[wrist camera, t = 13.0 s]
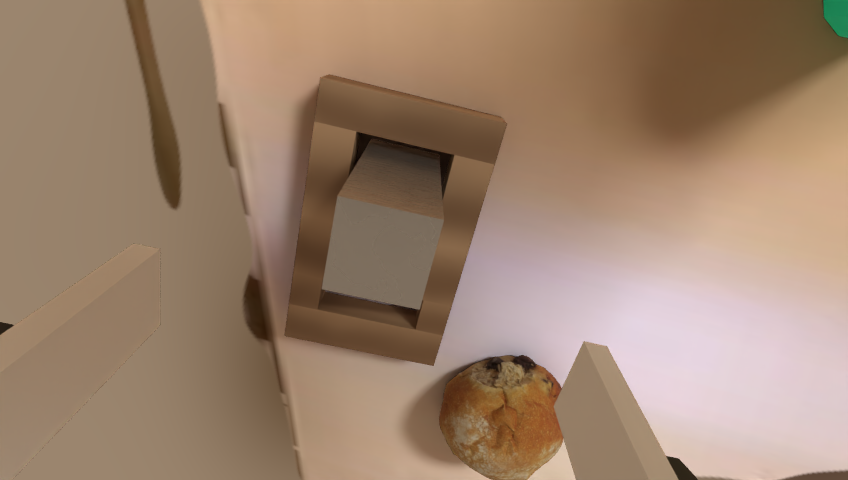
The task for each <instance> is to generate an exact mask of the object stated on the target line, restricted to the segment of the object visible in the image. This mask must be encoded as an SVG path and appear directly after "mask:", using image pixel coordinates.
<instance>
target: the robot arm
mask: <svg viewBox="0 0 848 480" xmlns="http://www.w3.org/2000/svg"><path fill="white" fill-rule="evenodd" d="M159 326H160V249H158V248H154V247H149V246H145V245H140V244H135V243H134V244H132V245H131V246H129V247H128V248H126V249H125V250H123V251H122V252H121V253H119V254H118V255H116V256H115V257H113V258H112V259H110V260H109V261H107V262H106V263H104V264H103V265H101V266H100V267H99V268H97V269H96V270H94V271H93V272H92V273H90V274H88V275H87V276H85V277H84V278H83V279H81V280H80V281H78V282H77V283H75V284H74V285H72V286H71V287H69V288H68V289H67V290H65V291H64V292H62V293H61V294H60V295H58V296H56V297H55V298H54V299H52V300H51V301H49V302H48V303H46V304H45V305H43V306H42V307H40V308H39V309H37V310H36V311H34V312H33V313H32V314H30V315H29V316H27V317H26V318H24V319H23V320H21V321H20V322H18V323H17V324H16V325H12V324H7V323H2V322H0V480H12V479H14V477H15V476H16V475H17V474H18V473H19V472H20V471H21V470H22V469H23V468H24V467H25V466H26V465H27V464H28V463H29V462H30V461H31V460H32V459H33V458H34V457H35V456H36V455H37V453H38V452H39V451H40V450H41V449H42V448H43V447H44V446H45V445H46V444H47V443H48V442H49V441H50V440H51V439H52V438H53V436H55V435H56V434H57V433H58V432H59V430H60V429H61V428H62V427H63V426H64V425H65V424H66V423H67V422H68V421H69V420H70V419H71V418H72V417H73V416H74V415H75V414H76V413H77V412H78V411H79V410H80V408H81V407H82V406H83V405H84V404H85V403H86V402H87V401H88V400H89V399H90V398H91V397H92V396H93V395H94V394H95V393H96V392H97V391H98V390H99V389H100V388H101V387H102V386H103V384H104V383H105V382H106V381H107V380H108V379H109V378H110V377H111V376H112V375H113V374H114V373H115V372H116V371H117V370H118V369H119V368H120V367H121V365H122V364H123V363H124V362H125V361H126V360H127V359H128V358H129V357H130V356H131V355H132V354H133V353H134V352H135V351H136V350H137V349H138V348H139V347H140V346H141V345H142V344H143V343H144V342H145V340H146V339H147V338H148V337H149V336H150V335H151V334H152V333H153V332H154V331H155V330H156V329H157V328H158V327H159ZM554 409H555V412H556V416H557V419H558V422H559V426H560V429H561V432H562V435H563V439H564V442H565V445H566V448H567V452H568V455H569V458H570V461H571V465H572V468H573V471H574V474H575V478H576V480H697V478H696V477H695V476H694V475H693V474H692V472H691V471H690V470H689V469H688V468H687V467H686V466H685V465H684V464H683V463H682V462H681V461H680V459H678V458H673V457H668V456H666V455H665V454H664V452H663V450H662V448H661V446H660V444H659V442H658V441H657V439H656V437H655V435H654V433H653V431H652V429H651V428H650V426H649V424H648V422H647V420H646V418H645V416H644V414H643V413H642V411H641V409H640V407H639V405H638V403H637V401H636V400H635V398H634V396H633V394H632V392H631V390H630V388H629V387H628V385H627V383H626V381H625V379H624V377H623V375H622V373H621V372H620V370H619V368H618V366H617V364H616V362H615V360H614V359H613V357H612V355H611V353H610V351H609V349H608V347H607V346H603V345H598V344H594V343H589V342H583V344H582V346H581V349H580V351H579V353H578V355H577V357H576V359H575V362H574V364H573V366H572V368H571V370H570V372H569V374H568V377H567V379H566V381H565V383H564V385H563V387H562V390H561V392H560V394H559V396H558V398H557V400H556V402H555V405H554Z"/></svg>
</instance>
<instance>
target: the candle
mask: <svg viewBox="0 0 848 480" xmlns="http://www.w3.org/2000/svg"><path fill="white" fill-rule="evenodd" d="M823 4H824V18H825V19H826V21H827V22H828V23H829V25H830V26H831V27H832V28H833V30H834V31H835V32H836V33H837V35H838V36H841V37H846V38H848V0H823Z"/></svg>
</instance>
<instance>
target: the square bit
mask: <svg viewBox="0 0 848 480" xmlns="http://www.w3.org/2000/svg"><path fill="white" fill-rule="evenodd" d="M443 222H444V213H443V200H442V186H441V173H440V160H439V154H435V153H431V152H427V151H422V150H418V149H414V148H410V147H406V146H401V145H397V144H393V143H389V142H385V141H380V140H376V139H371V140H370V142H369V144H368V145H367V147H366V149H365V151H364V152H363V154H362V156H361V157H360V159H359V161H358V162H357V164H356V166H355V167H354V169H353V171H352V172H351V174H350V176H349V177H348V179H347V181H346V182H345V184H344V186H343V187H342V189H341V191H340V192H339V194H338V196H337V202H336V208H335V213H334V219H333V225H332V231H331V237H330V243H329V249H328V255H327V261H326V267H325V273H324V278H323V284H322V289H323V290H328V291H332V292H337V293H342V294H347V295H351V296H356V297H361V298H366V299H370V300H375V301H380V302H385V303H390V304H394V305H399V306H404V307H409V308H413V309H418V310H420V306H421V303H422V299H423V295H424V292H425V288H426V284H427V281H428V277H429V273H430V270H431V266H432V262H433V259H434V255H435V251H436V248H437V244H438V240H439V237H440V233H441V229H442V226H443Z"/></svg>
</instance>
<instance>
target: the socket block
mask: <svg viewBox="0 0 848 480" xmlns="http://www.w3.org/2000/svg"><path fill="white" fill-rule="evenodd" d="M506 125H507V123H506V122H505V121H504V120H503V119H502V118H501V117H499V116H495V115H491V114H487V113H483V112H478V111H474V110H470V109H466V108H462V107H458V106H454V105H450V104H446V103H442V102H438V101H434V100H430V99H426V98H422V97H418V96H414V95H410V94H406V93H402V92H398V91H394V90H390V89H386V88H382V87H378V86H374V85H370V84H365V83H361V82H357V81H353V80H349V79H345V78H341V77H337V76H333V75H326V76H323V77H320V84H319V91H318V98H317V105H316V113H315V120H314V127H313V134H312V141H311V149H310V156H309V163H308V170H307V177H306V185H305V192H304V199H303V206H302V213H301V221H300V228H299V235H298V242H297V249H296V257H295V264H294V271H293V278H292V285H291V293H290V300H289V307H288V314H287V321H286V329H285V336H287V337H292V338H297V339H302V340H307V341H312V342H317V343H322V344H327V345H332V346H337V347H342V348H347V349H352V350H357V351H362V352H367V353H372V354H377V355H382V356H387V357H392V358H397V359H402V360H407V361H412V362H417V363H422V364H427V365H432V366H434V363H435V359H436V356H437V353H438V350H439V346H440V343H441V340H442V336H443V333H444V330H445V326H446V323H447V320H448V317H449V313H450V310H451V307H452V303H453V300H454V297H455V294H456V290H457V287H458V284H459V280H460V277H461V274H462V270H463V267H464V264H465V261H466V257H467V254H468V251H469V247H470V244H471V241H472V237H473V234H474V231H475V228H476V224H477V221H478V218H479V214H480V211H481V208H482V205H483V201H484V198H485V195H486V191H487V188H488V185H489V181H490V178H491V175H492V172H493V168H494V165H495V162H496V158H497V155H498V152H499V149H500V145H501V142H502V139H503V135H504V132H505V129H506ZM360 133H365V134H369V135H373V136H377V137H381V138H386V139H390V140H394V141H398V142H402V143H407V144H411V145H415V146H419V147H423V148H427V149H432V150H436V151H440V152H444V153H448V154H451V155H450V159H449V163H448V167H447V170H446V174H445V178H444V182H443V186H442V200H443V213H444V222H443V226H442V229H441V233H440V237H439V240H438V244H437V248H436V251H435V255H434V259H433V262H432V266H431V270H430V273H429V277H428V281H427V284H426V288H425V292H424V295H423V299H422V303H421V306H420V310H418V309H417V311H414V310H410V309H405V308H400V307H395V306H391V305H386V304H381V303H376V302H372V301H367V300H362V299H357V298H353V297H348V296H343V295H338V294H333V293H329V292H325V290H323V289H322V284H323V278H324V273H325V267H326V261H327V255H328V249H329V243H330V237H331V231H332V225H333V219H334V213H335V208H336V202H337V196H338V194H339V192H340V191H341V189H342V187H343V186H344V184H345V182H346V181H347V179H348V177H349V176H350V174H351V172H352V171H353V169H354V166H355V161H356V155H357V150H358V144H359V139H360Z"/></svg>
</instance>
